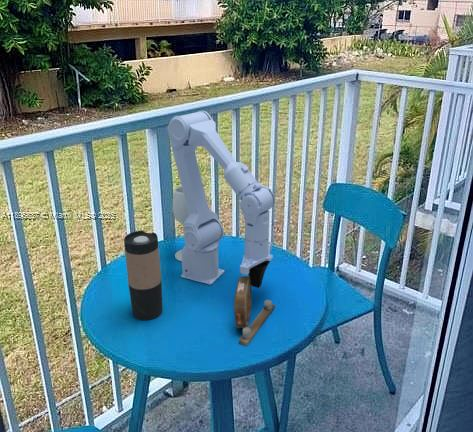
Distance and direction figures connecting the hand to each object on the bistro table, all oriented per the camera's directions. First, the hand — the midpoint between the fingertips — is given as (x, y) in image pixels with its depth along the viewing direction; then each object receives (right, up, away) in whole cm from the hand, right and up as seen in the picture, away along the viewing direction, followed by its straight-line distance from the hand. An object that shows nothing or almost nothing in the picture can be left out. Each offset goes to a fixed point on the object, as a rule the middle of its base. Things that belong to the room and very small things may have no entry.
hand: (256, 286), depth 119 cm
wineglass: (-19, +6, +22) cm, 30 cm away
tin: (-3, -6, -6) cm, 9 cm away
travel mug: (-26, -6, -4) cm, 27 cm away
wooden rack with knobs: (0, -8, -9) cm, 12 cm away
